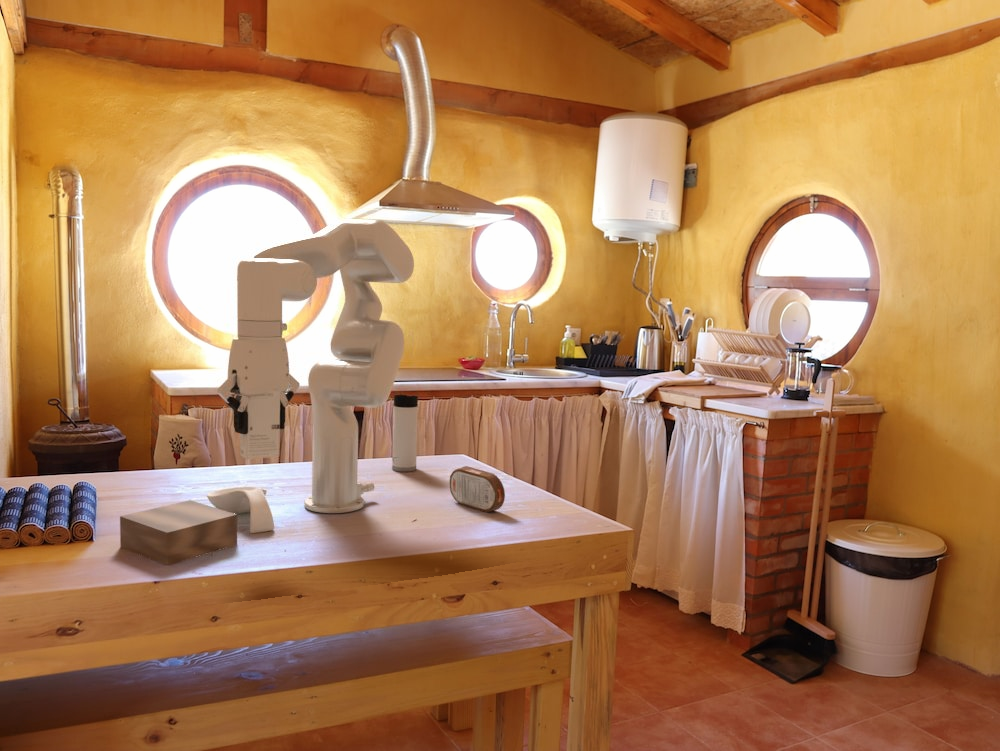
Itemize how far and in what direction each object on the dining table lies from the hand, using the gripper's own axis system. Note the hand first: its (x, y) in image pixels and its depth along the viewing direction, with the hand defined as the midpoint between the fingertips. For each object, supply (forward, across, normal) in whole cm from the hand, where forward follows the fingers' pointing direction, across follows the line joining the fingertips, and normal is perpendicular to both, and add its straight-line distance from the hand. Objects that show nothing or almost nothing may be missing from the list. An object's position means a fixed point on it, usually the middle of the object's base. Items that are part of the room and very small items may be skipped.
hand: (260, 429), depth 141 cm
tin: (+22, -48, +9) cm, 53 cm away
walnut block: (+22, +10, -10) cm, 26 cm away
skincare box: (+5, 0, 0) cm, 5 cm away
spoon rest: (+22, -8, -18) cm, 30 cm away
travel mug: (+22, -60, -27) cm, 69 cm away
